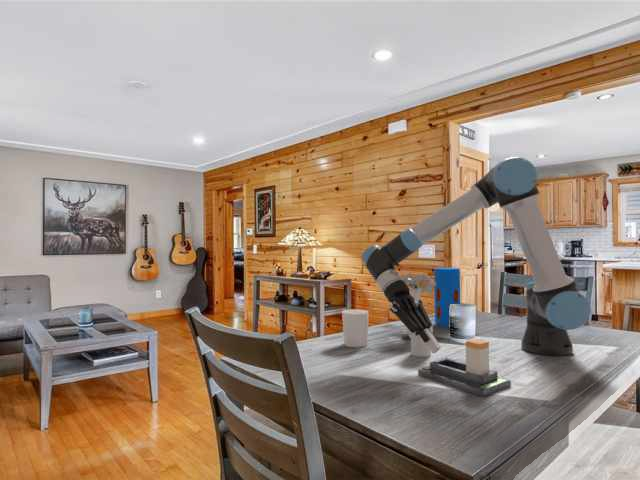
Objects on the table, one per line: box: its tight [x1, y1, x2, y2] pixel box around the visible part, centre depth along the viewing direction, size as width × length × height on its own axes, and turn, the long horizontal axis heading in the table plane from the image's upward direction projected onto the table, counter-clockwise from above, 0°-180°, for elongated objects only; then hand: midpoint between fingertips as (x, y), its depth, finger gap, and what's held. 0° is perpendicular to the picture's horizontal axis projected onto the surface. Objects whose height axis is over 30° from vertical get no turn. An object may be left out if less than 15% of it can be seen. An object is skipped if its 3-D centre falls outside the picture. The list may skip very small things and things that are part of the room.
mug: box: [410, 316, 434, 358], centre depth 134 cm, size 10×7×12 cm, turn 131°
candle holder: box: [341, 308, 370, 349], centre depth 146 cm, size 10×10×12 cm
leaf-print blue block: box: [433, 267, 461, 329], centre depth 178 cm, size 11×11×25 cm
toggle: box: [465, 338, 490, 376], centre depth 104 cm, size 4×4×9 cm
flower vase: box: [400, 272, 436, 339], centre depth 158 cm, size 13×18×25 cm
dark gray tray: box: [417, 357, 512, 398], centre depth 108 cm, size 20×12×4 cm, turn 35°
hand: (436, 350), depth 115 cm, fingers closed
